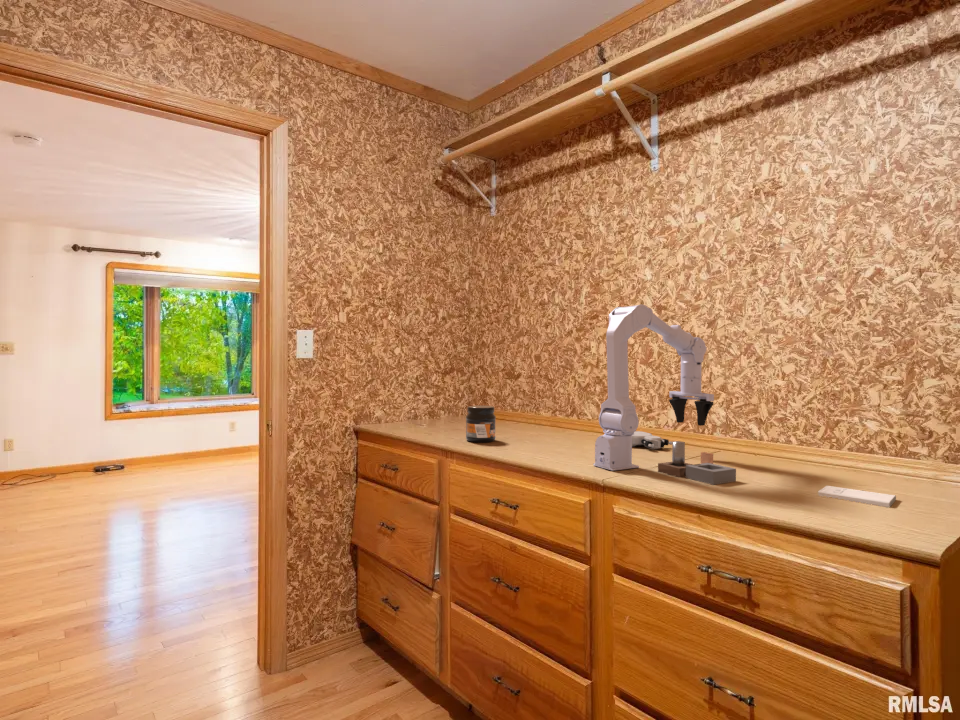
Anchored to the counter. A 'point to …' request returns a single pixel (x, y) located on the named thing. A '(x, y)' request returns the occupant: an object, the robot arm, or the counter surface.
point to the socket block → (672, 469)
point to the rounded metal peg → (678, 453)
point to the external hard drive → (858, 496)
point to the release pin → (706, 457)
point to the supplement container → (480, 424)
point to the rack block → (711, 473)
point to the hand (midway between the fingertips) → (690, 423)
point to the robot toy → (648, 440)
